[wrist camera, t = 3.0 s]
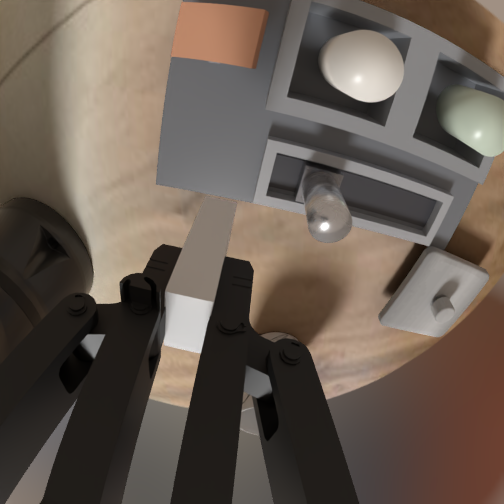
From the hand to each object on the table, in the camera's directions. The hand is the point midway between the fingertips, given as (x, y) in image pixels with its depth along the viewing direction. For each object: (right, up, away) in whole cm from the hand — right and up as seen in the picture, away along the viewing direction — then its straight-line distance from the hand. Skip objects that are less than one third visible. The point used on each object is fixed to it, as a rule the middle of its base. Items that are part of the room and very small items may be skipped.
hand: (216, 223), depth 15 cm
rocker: (0, +11, 0) cm, 11 cm away
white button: (+7, +9, 0) cm, 12 cm away
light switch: (+21, -5, +15) cm, 26 cm away
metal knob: (+7, +4, +8) cm, 11 cm away
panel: (+9, +9, +6) cm, 14 cm away
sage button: (+15, +8, 0) cm, 17 cm away
